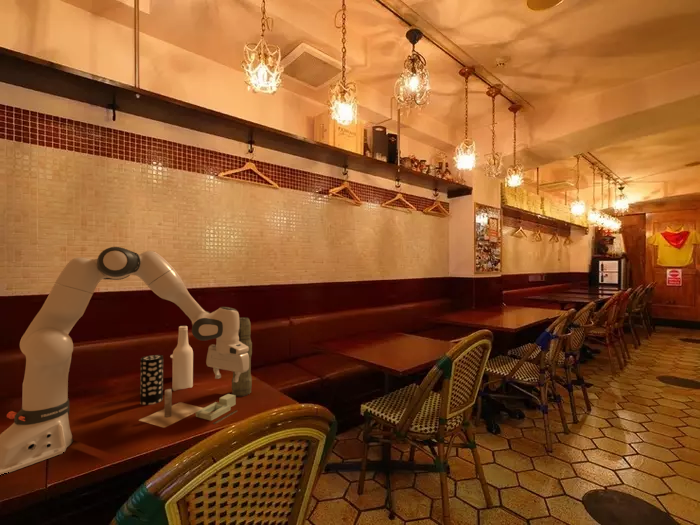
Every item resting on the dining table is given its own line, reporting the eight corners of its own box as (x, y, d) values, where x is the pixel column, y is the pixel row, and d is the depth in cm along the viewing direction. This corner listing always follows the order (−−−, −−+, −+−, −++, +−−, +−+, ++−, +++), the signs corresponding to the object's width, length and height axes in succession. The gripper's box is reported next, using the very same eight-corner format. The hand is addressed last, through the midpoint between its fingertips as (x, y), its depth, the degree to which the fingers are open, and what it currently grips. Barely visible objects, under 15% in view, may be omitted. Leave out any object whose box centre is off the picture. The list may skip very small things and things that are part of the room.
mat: (215, 424, 127) (215, 423, 127) (195, 418, 131) (195, 418, 131) (237, 411, 138) (237, 410, 138) (219, 407, 142) (219, 406, 142)
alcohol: (188, 384, 168) (189, 324, 168) (195, 389, 162) (196, 326, 162) (169, 388, 162) (170, 326, 162) (175, 394, 156) (176, 329, 156)
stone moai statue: (227, 397, 152) (228, 320, 152) (236, 388, 164) (237, 316, 164) (246, 398, 152) (247, 320, 152) (254, 388, 163) (255, 316, 163)
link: (211, 423, 127) (211, 410, 127) (195, 419, 130) (195, 406, 130) (239, 408, 141) (239, 396, 141) (224, 404, 144) (224, 393, 144)
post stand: (164, 431, 121) (164, 399, 121) (138, 424, 127) (138, 393, 127) (204, 411, 137) (204, 383, 137) (179, 405, 143) (179, 378, 143)
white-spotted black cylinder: (152, 409, 139) (152, 360, 139) (135, 407, 141) (135, 359, 141) (167, 401, 147) (167, 355, 148) (150, 399, 149) (151, 354, 149)
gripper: (203, 345, 141) (202, 378, 141) (241, 351, 132) (240, 386, 132) (214, 342, 147) (213, 374, 146) (252, 347, 138) (251, 381, 138)
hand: (226, 380), depth 139 cm, fingers open, 8 cm apart
